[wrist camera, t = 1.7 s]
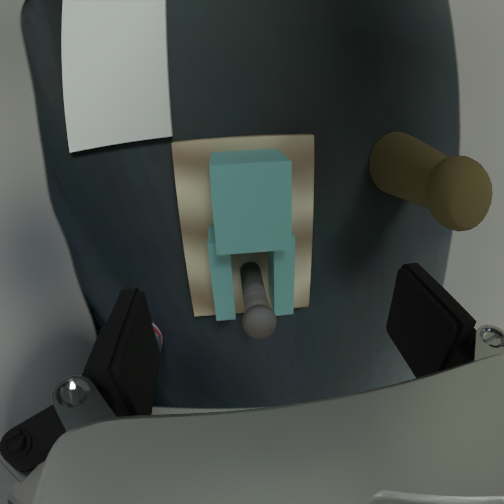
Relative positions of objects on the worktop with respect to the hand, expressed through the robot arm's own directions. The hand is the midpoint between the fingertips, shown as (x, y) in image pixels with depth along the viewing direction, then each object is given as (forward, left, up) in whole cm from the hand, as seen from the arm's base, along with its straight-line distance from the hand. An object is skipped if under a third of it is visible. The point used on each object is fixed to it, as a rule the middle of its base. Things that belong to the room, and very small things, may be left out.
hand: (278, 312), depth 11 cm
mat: (-12, -10, -17) cm, 23 cm away
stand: (+4, 0, -17) cm, 17 cm away
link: (+4, 0, -16) cm, 16 cm away
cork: (-2, +14, -17) cm, 22 cm away
